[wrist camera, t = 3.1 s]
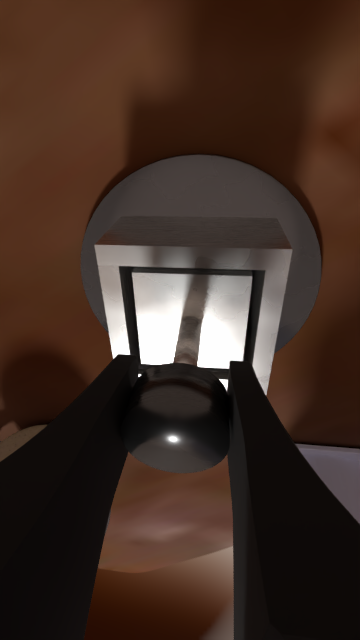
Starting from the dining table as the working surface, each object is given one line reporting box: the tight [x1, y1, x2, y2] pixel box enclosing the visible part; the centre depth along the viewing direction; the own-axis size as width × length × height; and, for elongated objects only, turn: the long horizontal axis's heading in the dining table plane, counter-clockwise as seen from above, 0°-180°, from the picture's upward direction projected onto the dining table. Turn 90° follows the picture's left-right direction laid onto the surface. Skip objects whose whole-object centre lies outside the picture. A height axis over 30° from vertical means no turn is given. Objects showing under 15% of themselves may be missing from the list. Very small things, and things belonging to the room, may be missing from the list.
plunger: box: [120, 266, 253, 473], centre depth 11 cm, size 5×5×6 cm
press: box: [81, 154, 321, 395], centre depth 15 cm, size 12×12×4 cm
